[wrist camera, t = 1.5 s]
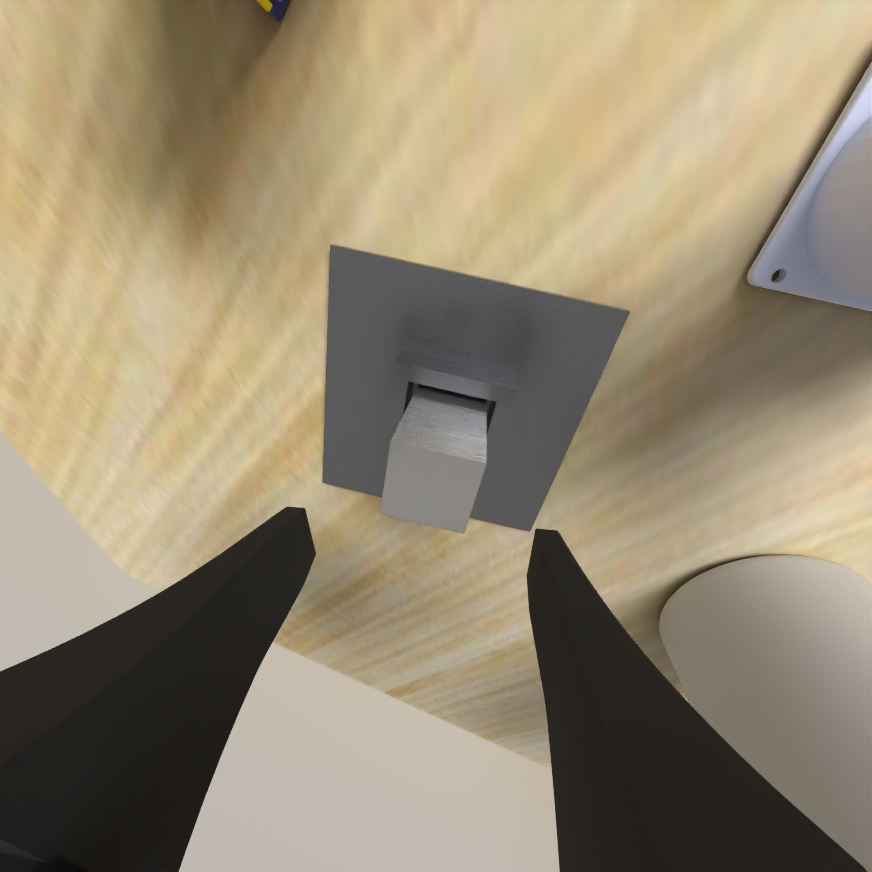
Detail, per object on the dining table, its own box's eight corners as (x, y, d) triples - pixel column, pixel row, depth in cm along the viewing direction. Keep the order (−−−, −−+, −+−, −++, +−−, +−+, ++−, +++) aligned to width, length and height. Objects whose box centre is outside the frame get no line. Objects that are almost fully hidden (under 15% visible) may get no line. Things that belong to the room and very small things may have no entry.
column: (487, 391, 18) (488, 462, 12) (471, 448, 20) (465, 534, 14) (421, 376, 18) (389, 439, 12) (410, 434, 20) (378, 514, 14)
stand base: (626, 309, 16) (649, 319, 14) (529, 526, 23) (533, 556, 21) (334, 244, 16) (309, 244, 14) (325, 478, 23) (308, 503, 21)
